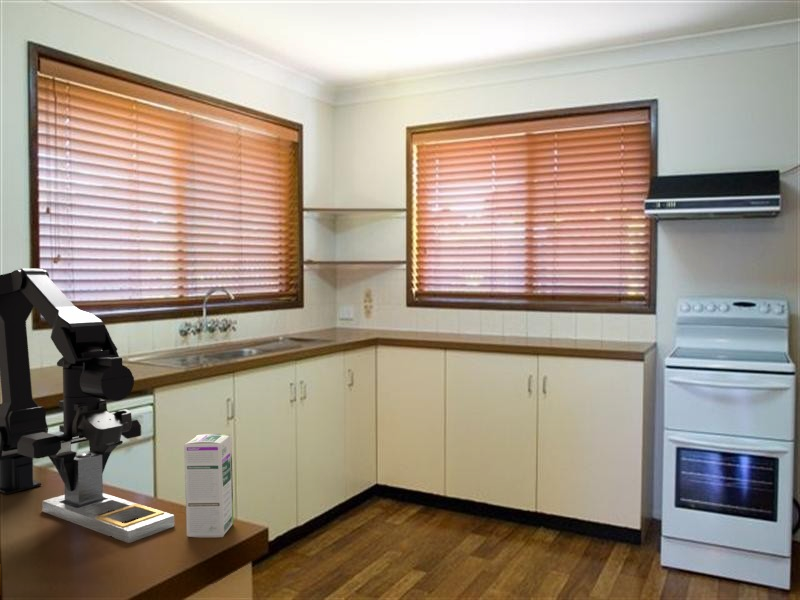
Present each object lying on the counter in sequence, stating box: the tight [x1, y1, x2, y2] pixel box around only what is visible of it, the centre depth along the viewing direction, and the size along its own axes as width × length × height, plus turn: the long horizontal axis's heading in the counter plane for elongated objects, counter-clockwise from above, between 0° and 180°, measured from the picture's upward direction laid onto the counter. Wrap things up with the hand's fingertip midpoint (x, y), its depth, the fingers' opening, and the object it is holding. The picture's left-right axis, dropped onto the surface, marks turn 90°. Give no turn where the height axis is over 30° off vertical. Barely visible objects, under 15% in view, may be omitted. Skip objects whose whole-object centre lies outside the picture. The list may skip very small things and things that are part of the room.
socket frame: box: [41, 492, 175, 544], centre depth 107 cm, size 24×8×2 cm, turn 56°
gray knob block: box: [64, 450, 104, 508], centre depth 111 cm, size 4×4×8 cm
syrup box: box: [183, 433, 235, 538], centre depth 102 cm, size 6×6×14 cm
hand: (83, 487), depth 111 cm, fingers closed on gray knob block, 4 cm apart
